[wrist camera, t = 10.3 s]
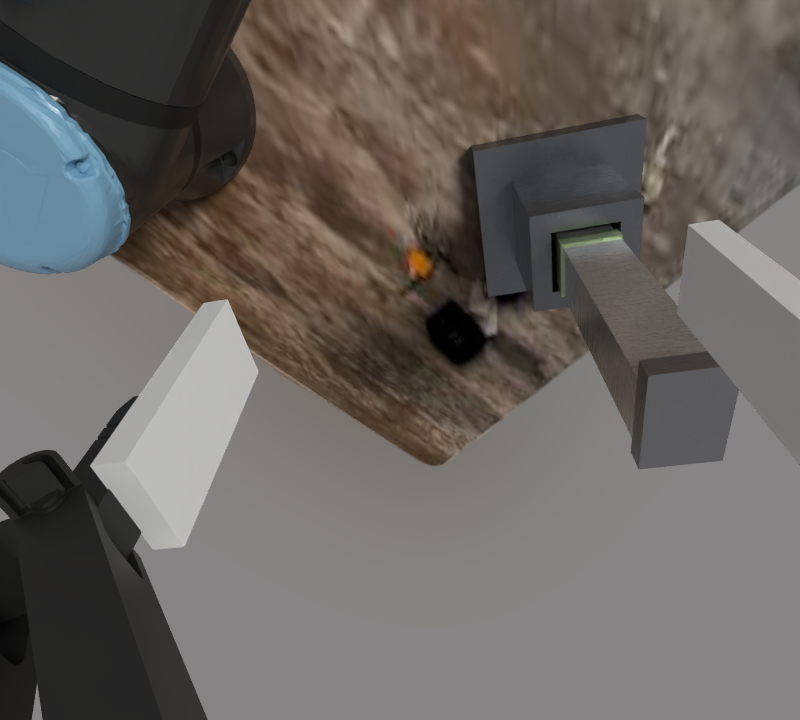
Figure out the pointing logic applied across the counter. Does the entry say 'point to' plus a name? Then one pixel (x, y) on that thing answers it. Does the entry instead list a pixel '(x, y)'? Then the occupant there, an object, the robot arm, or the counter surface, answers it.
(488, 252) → the stand base
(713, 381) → the grey rectangular bar
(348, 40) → the counter surface
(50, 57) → the robot arm
